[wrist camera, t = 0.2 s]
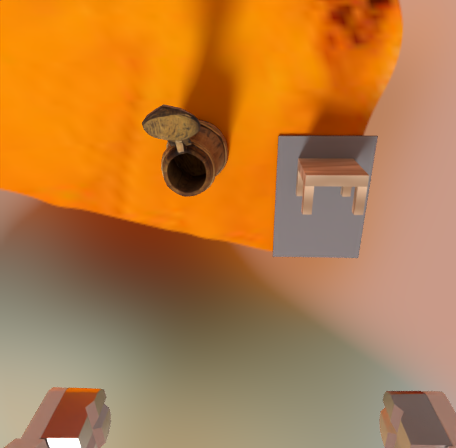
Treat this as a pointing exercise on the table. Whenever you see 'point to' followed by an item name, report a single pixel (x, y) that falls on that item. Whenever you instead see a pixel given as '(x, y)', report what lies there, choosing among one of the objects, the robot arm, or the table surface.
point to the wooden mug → (187, 149)
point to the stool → (331, 180)
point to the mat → (318, 199)
